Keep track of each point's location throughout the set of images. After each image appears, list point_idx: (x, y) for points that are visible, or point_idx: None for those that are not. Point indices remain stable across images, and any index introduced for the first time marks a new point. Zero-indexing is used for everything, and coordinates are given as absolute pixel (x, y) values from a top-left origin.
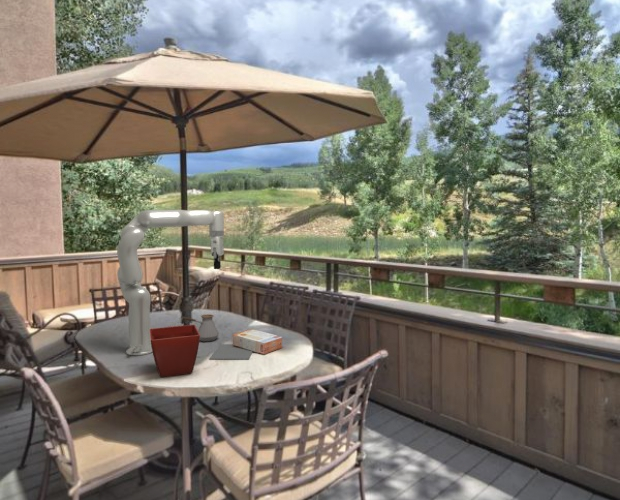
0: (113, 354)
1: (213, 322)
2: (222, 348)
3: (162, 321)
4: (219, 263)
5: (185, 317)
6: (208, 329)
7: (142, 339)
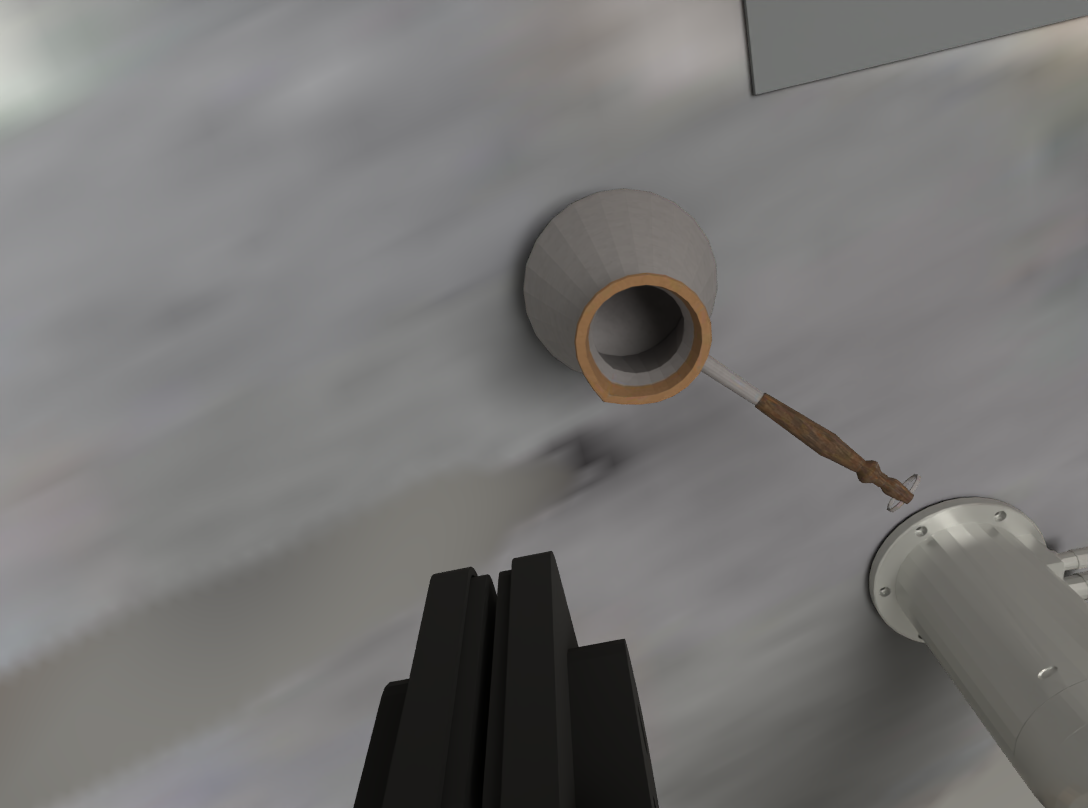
0: None
1: (618, 261)
2: (877, 10)
3: (256, 796)
4: (563, 731)
5: (877, 471)
6: (695, 263)
7: (1071, 588)
